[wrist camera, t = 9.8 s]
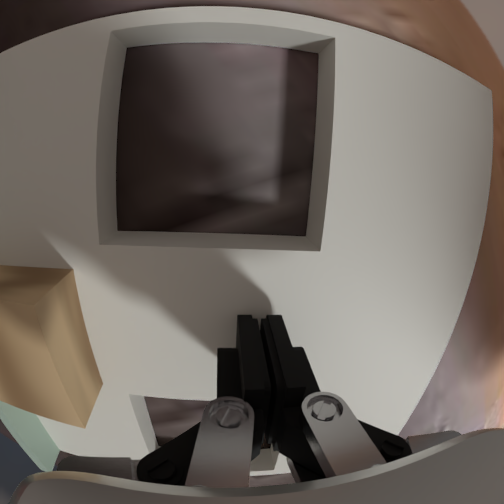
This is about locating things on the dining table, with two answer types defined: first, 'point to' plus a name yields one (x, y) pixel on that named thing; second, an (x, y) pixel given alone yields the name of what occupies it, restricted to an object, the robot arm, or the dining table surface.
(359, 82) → the board
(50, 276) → the block
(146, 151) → the dining table surface
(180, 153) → the dining table surface
